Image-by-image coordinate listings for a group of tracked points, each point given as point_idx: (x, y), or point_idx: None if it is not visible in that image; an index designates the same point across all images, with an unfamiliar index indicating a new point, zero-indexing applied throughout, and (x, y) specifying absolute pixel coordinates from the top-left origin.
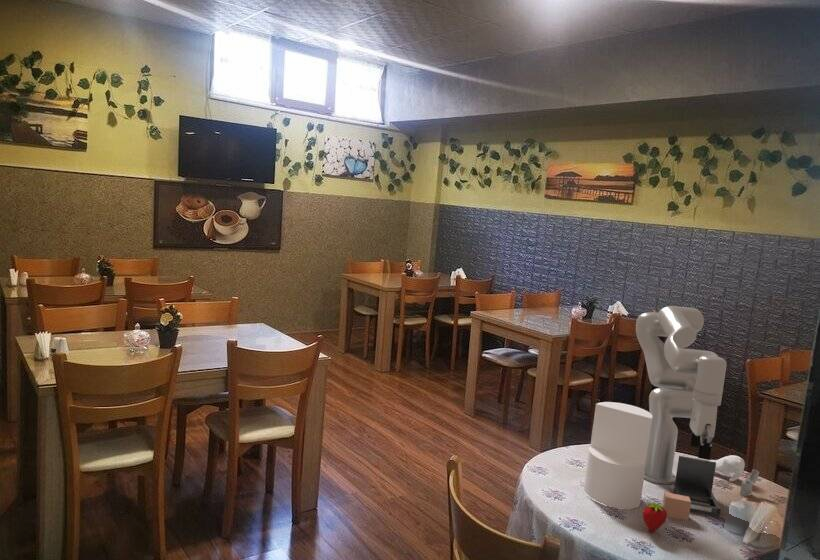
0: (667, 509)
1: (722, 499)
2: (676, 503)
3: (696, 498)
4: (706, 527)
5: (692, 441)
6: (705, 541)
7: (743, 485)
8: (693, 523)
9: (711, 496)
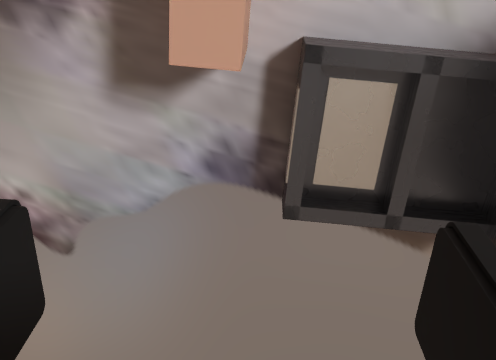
0: None
1: None
2: None
3: (400, 143)
4: (155, 114)
5: (462, 277)
6: (13, 71)
7: None
8: None
9: (419, 219)
